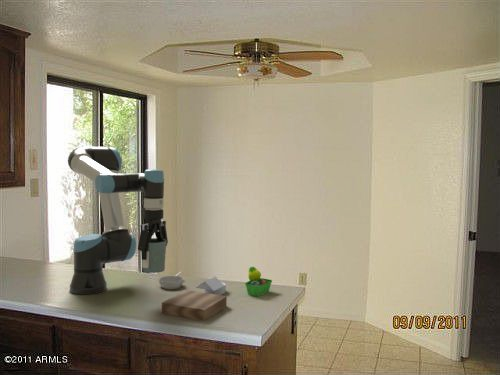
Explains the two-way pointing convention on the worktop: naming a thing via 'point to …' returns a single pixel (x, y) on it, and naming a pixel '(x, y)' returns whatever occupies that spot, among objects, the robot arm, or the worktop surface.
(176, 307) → the walnut stand
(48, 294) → the worktop surface
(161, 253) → the grey cup
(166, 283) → the small pan
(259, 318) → the worktop surface
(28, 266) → the worktop surface
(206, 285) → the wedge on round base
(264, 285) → the fruit basket
